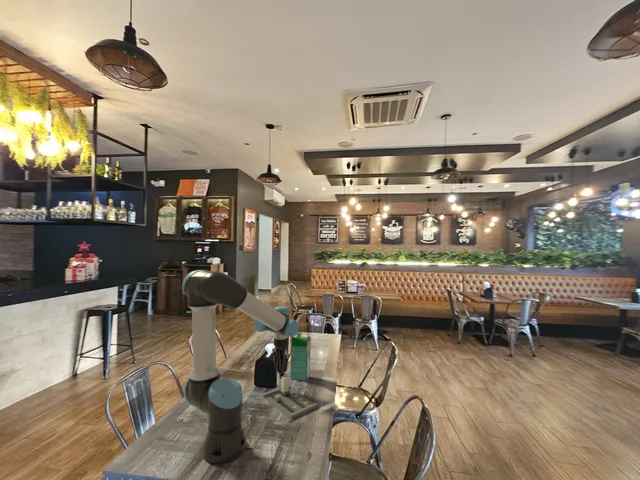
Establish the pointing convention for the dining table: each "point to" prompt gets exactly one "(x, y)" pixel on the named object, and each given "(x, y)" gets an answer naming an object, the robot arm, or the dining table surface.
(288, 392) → the fader
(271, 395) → the console
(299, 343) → the milk carton
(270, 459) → the dining table surface
